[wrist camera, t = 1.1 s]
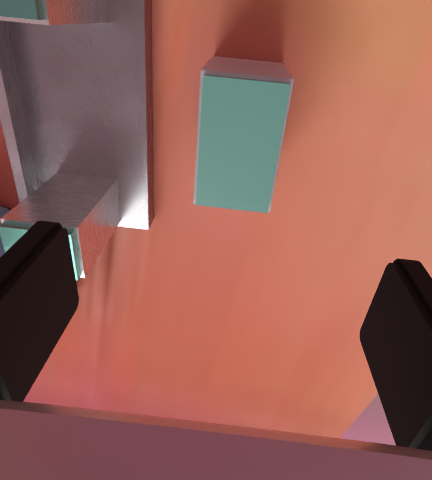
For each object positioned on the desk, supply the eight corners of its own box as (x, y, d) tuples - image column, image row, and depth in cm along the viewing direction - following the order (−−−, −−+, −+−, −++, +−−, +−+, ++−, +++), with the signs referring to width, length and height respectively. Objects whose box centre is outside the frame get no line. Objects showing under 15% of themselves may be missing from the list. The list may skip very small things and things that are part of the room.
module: (283, 62, 26) (295, 80, 19) (265, 168, 30) (270, 216, 23) (213, 55, 26) (199, 71, 19) (206, 162, 30) (192, 207, 23)
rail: (150, -57, 23) (86, -103, 14) (153, 219, 34) (118, 293, 25) (-4, -71, 23) (-164, -126, 14) (48, 207, 34) (-26, 276, 25)
